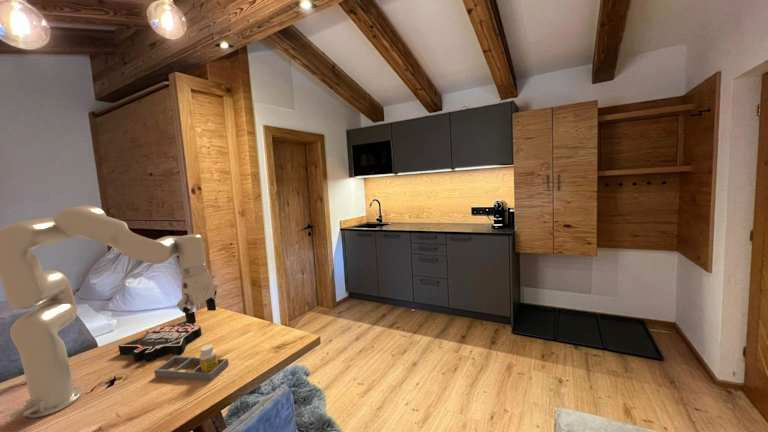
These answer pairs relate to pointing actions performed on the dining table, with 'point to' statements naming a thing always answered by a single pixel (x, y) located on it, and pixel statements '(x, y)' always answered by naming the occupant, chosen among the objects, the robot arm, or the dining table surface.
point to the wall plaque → (161, 341)
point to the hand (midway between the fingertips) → (202, 316)
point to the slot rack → (186, 363)
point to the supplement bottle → (208, 358)
